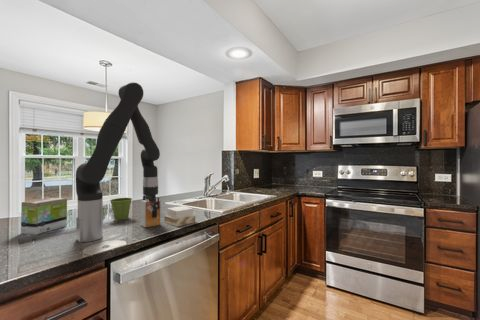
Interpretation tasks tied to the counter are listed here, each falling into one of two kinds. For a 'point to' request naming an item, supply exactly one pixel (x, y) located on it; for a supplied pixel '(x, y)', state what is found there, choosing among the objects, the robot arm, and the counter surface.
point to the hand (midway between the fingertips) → (150, 216)
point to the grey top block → (180, 212)
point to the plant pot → (121, 207)
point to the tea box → (43, 215)
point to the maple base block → (179, 220)
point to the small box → (149, 214)
